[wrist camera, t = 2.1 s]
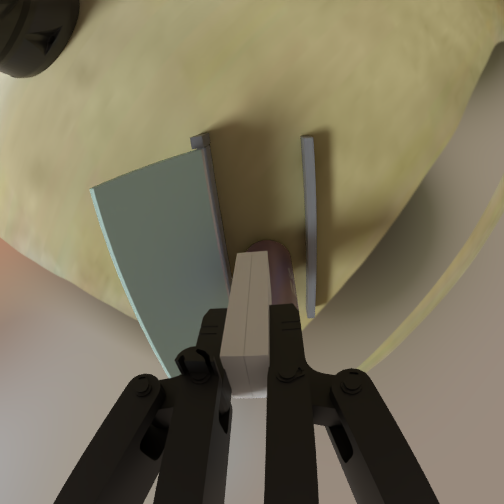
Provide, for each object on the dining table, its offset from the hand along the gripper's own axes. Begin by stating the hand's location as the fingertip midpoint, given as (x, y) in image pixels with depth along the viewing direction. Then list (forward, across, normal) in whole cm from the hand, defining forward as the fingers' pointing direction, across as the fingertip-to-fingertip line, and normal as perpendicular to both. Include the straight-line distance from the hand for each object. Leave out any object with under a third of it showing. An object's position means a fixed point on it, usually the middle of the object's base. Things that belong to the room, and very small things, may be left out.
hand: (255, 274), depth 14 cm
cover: (+10, -8, -7) cm, 15 cm away
